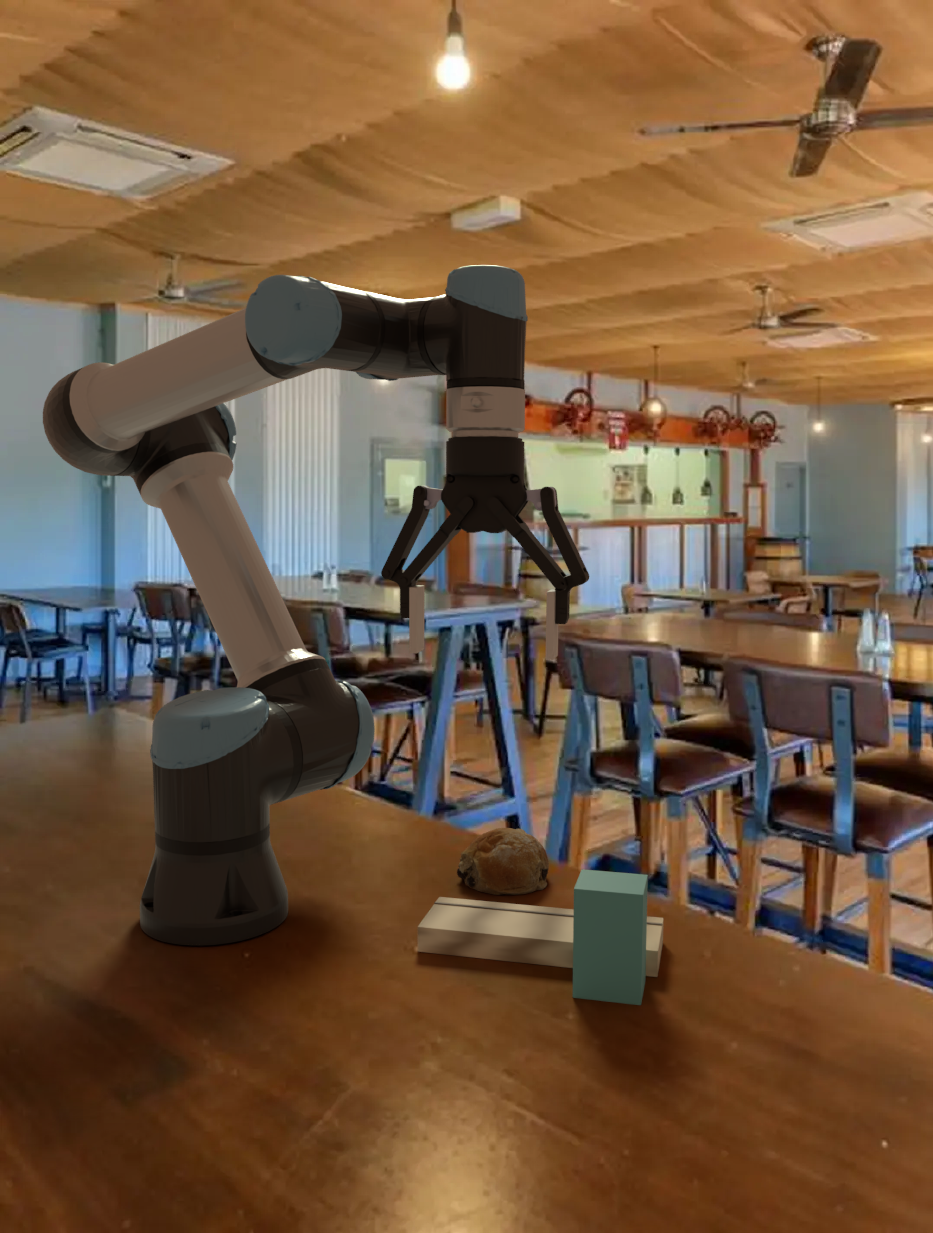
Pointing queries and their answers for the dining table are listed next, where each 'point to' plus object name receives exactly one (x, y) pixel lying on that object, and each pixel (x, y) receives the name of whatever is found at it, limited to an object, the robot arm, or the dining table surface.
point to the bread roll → (504, 863)
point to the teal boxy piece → (610, 936)
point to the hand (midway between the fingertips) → (483, 654)
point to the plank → (513, 933)
